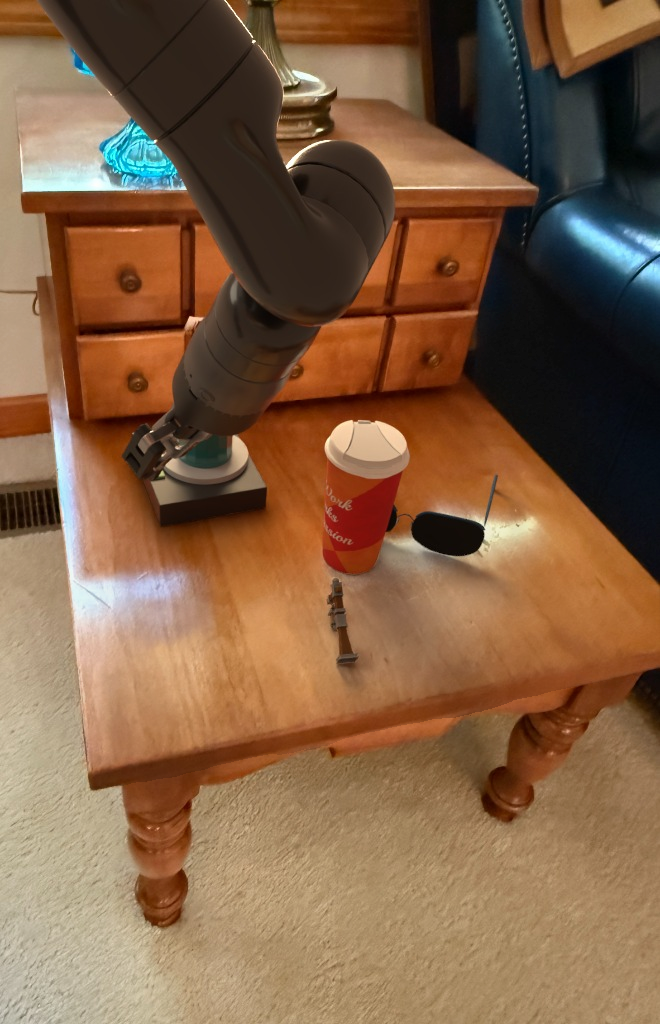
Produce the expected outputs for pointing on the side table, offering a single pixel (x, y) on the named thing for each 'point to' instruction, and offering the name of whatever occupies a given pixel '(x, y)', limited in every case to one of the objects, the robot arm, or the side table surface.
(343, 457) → the coffee cup
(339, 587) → the wooden post with brackets
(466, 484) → the side table surface
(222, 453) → the teal open tube
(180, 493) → the scale
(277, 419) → the side table surface
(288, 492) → the side table surface
